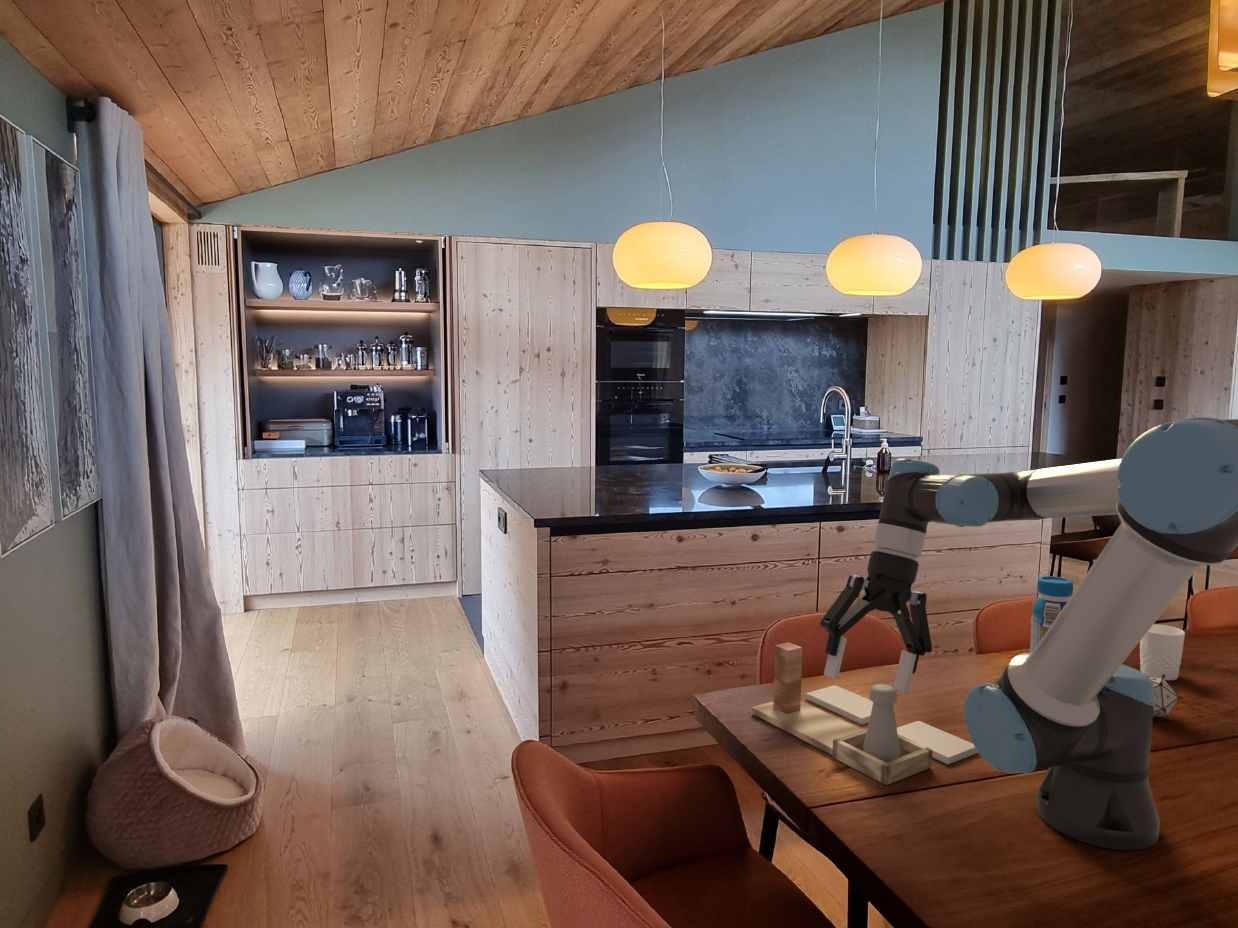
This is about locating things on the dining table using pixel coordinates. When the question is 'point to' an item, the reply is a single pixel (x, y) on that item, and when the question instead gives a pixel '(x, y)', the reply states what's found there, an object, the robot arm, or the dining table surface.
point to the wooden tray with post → (832, 725)
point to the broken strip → (860, 711)
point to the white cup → (1161, 651)
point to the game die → (1163, 697)
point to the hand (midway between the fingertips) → (865, 684)
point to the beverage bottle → (1048, 605)
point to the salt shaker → (882, 724)
